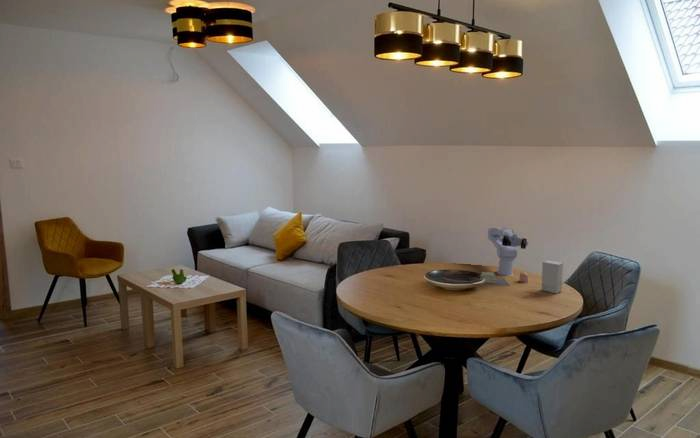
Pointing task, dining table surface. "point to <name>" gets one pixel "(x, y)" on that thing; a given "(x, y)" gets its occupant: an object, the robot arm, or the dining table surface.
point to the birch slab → (489, 280)
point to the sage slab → (488, 275)
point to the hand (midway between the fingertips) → (517, 245)
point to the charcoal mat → (498, 282)
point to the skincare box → (552, 276)
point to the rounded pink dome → (523, 277)
